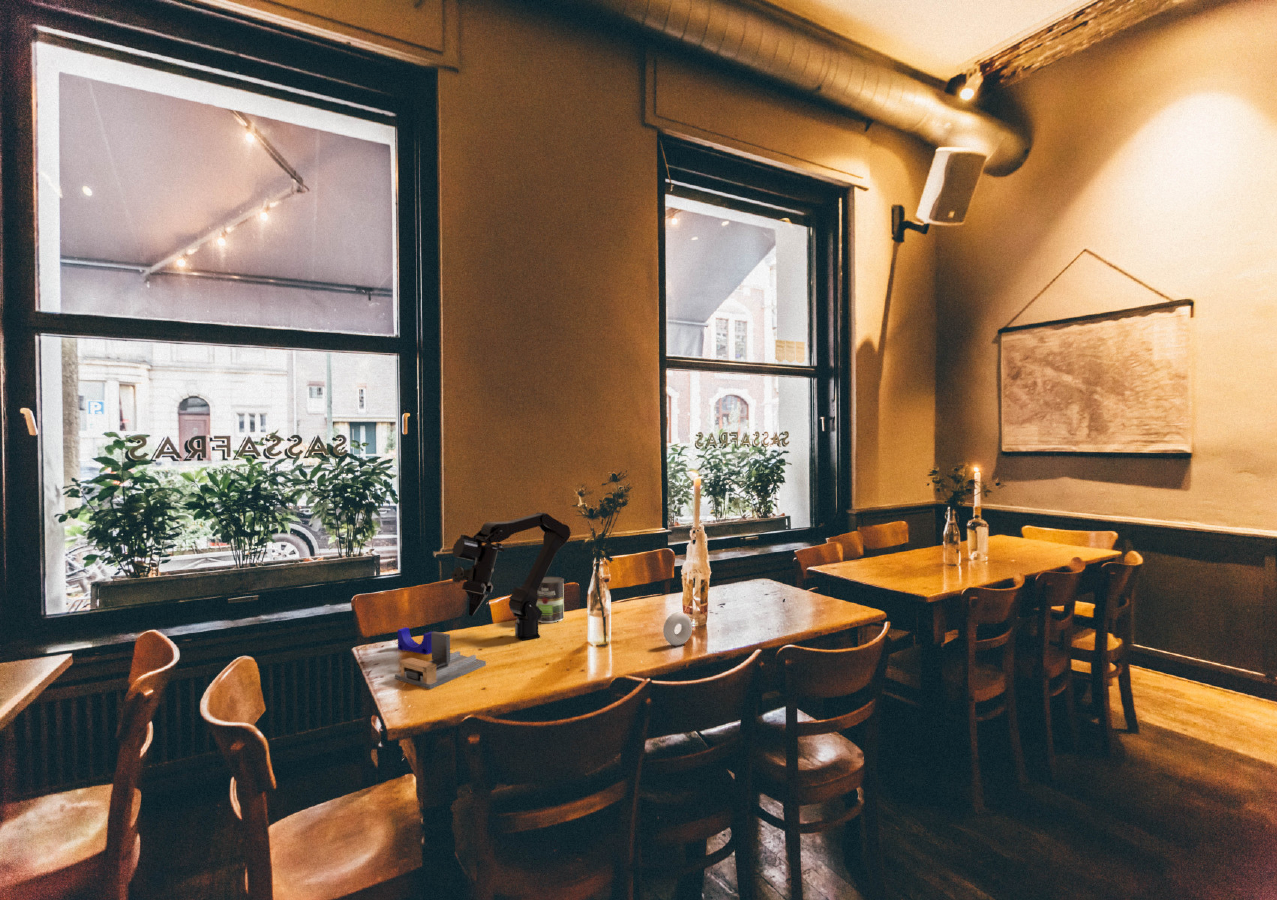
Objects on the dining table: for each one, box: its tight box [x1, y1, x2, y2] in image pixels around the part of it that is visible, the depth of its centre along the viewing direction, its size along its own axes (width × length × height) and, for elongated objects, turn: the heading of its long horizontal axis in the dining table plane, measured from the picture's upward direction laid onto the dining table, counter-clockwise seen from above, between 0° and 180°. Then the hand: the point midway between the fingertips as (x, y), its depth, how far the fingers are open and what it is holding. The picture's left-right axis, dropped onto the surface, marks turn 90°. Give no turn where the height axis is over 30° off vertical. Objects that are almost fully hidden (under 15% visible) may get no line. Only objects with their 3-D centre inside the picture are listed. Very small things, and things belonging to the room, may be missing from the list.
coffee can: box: [536, 576, 565, 624], centre depth 211 cm, size 10×10×14 cm
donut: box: [662, 611, 693, 647], centre depth 181 cm, size 10×4×10 cm, turn 120°
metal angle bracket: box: [406, 631, 451, 680], centre depth 159 cm, size 10×6×9 cm, turn 149°
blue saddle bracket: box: [397, 626, 433, 655], centre depth 181 cm, size 12×4×6 cm, turn 65°
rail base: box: [394, 650, 487, 690], centre depth 163 cm, size 19×14×5 cm
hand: (470, 615), depth 177 cm, fingers closed
